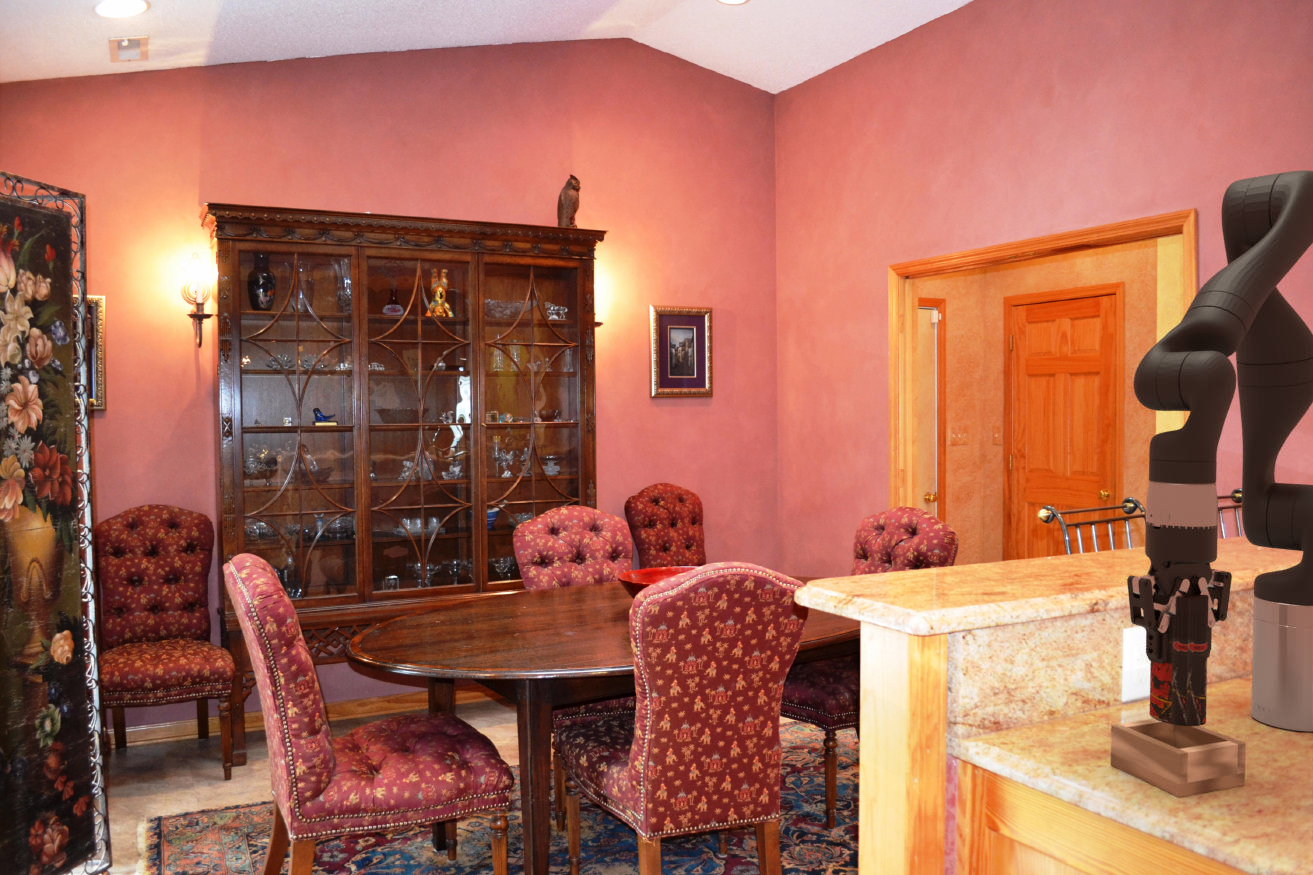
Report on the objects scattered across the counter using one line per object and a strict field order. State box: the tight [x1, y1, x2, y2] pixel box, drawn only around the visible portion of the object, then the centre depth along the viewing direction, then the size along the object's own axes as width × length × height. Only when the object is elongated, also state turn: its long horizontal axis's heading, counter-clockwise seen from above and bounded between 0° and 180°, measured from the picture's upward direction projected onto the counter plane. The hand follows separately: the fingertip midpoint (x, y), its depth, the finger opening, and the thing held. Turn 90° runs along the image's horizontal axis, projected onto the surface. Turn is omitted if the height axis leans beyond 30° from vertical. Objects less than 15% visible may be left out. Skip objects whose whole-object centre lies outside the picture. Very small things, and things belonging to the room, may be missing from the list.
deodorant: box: [1149, 593, 1209, 726], centre depth 113 cm, size 6×6×15 cm
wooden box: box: [1110, 718, 1247, 798], centre depth 113 cm, size 10×10×5 cm
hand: (1178, 658), depth 113 cm, fingers closed on deodorant, 6 cm apart
